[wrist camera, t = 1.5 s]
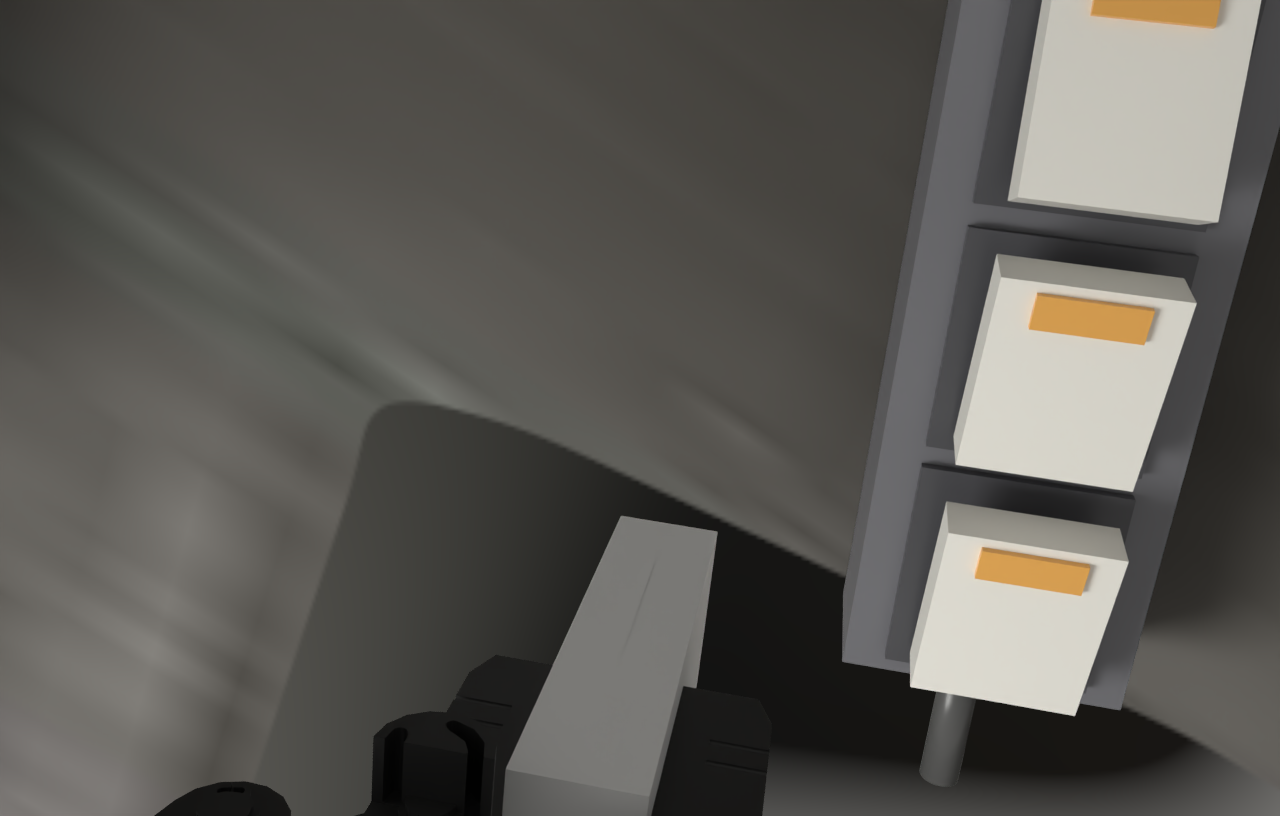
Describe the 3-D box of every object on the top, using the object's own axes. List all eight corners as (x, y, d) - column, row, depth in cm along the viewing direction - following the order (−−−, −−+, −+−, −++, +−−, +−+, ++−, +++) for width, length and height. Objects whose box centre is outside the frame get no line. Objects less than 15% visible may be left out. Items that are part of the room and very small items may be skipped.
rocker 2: (953, 436, 36) (956, 468, 35) (996, 253, 33) (1001, 280, 32) (1123, 461, 36) (1133, 495, 34) (1184, 278, 32) (1198, 306, 31)
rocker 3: (909, 652, 39) (910, 691, 37) (946, 501, 36) (948, 537, 34) (1068, 679, 38) (1075, 720, 37) (1119, 528, 35) (1129, 565, 33)
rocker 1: (1007, 201, 33) (1019, 196, 31) (1046, -26, 32) (1060, -44, 30) (1198, 224, 32) (1220, 221, 30) (1242, -6, 31) (1268, -23, 29)
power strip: (819, 730, 47) (815, 817, 42) (960, -67, 37) (977, -79, 32) (1061, 774, 45) (1087, 870, 40) (1271, -36, 36) (1339, -44, 31)
